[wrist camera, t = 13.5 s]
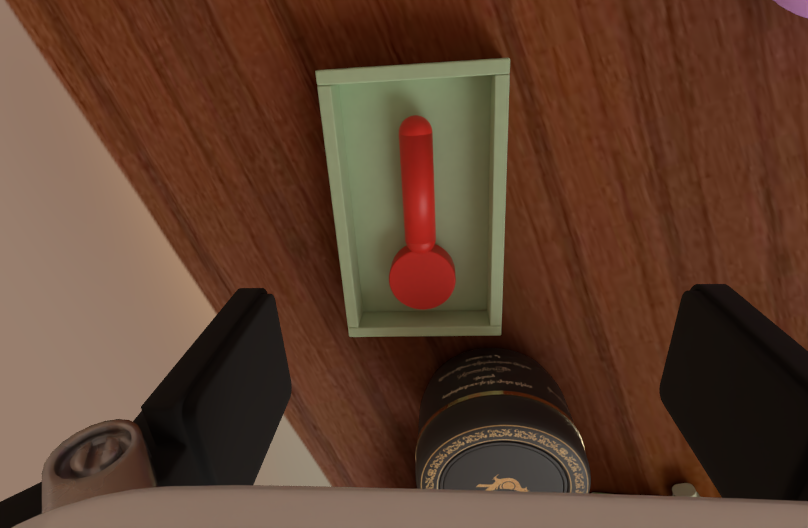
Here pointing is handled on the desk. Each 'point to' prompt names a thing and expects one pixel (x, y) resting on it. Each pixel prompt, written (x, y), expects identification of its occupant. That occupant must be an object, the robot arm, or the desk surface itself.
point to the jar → (498, 428)
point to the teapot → (795, 6)
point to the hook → (684, 490)
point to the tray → (453, 187)
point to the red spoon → (420, 225)
